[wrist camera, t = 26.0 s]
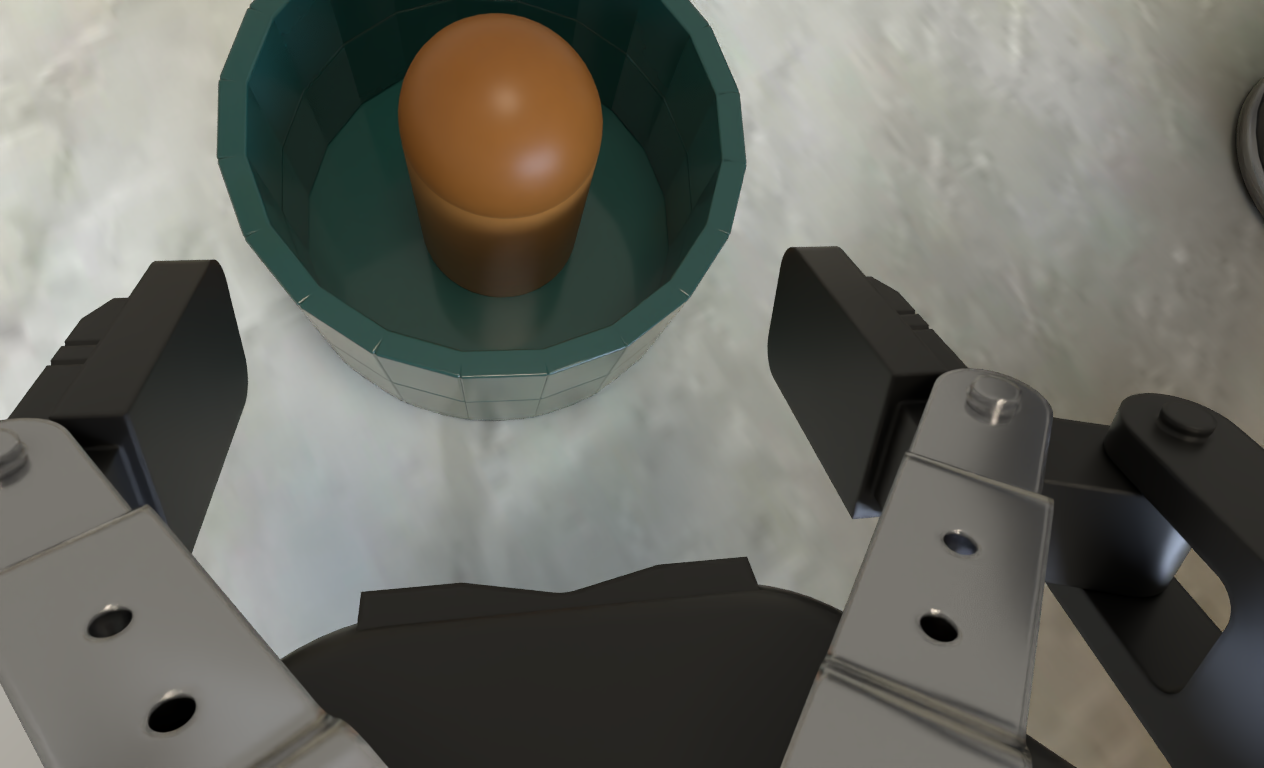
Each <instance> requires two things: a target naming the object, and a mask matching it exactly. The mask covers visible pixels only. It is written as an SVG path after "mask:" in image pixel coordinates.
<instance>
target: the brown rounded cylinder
mask: <svg viewBox="0 0 1264 768" xmlns="http://www.w3.org/2000/svg"><path fill="white" fill-rule="evenodd" d="M398 122H399V132H400V137H401V142H402V147H403V151H404V155H405V160H406V164H407V168H408V172H409V177H410V181H411V185H412V190H413V194H414V198H415V203H416V207H417V211H418V216H419V220H420V224H421V229H422V233H423V237H424V241H425V244H426V247H427V250H428V252H429V254H430V256H431V258H432V259H433V261H434V262H435V264H436V265H437V267H438V268H439V269H440V270H441V271H442V272H443V273H444V274H445V275H446V276H447V277H448V278H449V279H451V280H452V281H453V282H455V283H456V284H458V285H459V286H461V287H463V288H465V289H467V290H469V291H471V292H474V293H477V294H480V295H485V296H490V297H513V296H518V295H523V294H526V293H529V292H532V291H534V290H536V289H538V288H540V287H542V286H543V285H545V284H547V283H548V282H549V281H551V280H552V279H553V278H554V277H555V276H556V275H557V274H558V273H559V272H560V271H561V270H562V268H563V267H564V265H565V264H566V263H567V261H568V259H569V257H570V255H571V253H572V250H573V247H574V244H575V240H576V236H577V233H578V229H579V225H580V222H581V218H582V214H583V210H584V207H585V203H586V199H587V196H588V192H589V188H590V185H591V181H592V177H593V173H594V170H595V166H596V162H597V159H598V155H599V151H600V146H601V140H602V131H603V118H602V108H601V102H600V98H599V94H598V90H597V88H596V85H595V83H594V80H593V78H592V75H591V73H590V72H589V70H588V68H587V66H586V64H585V63H584V61H583V60H582V59H581V57H580V56H579V55H578V53H577V52H576V51H575V50H574V49H573V48H572V47H571V46H570V45H569V44H568V42H567V41H565V40H564V39H563V38H562V37H561V36H559V35H558V34H557V33H555V32H554V31H552V30H551V29H549V28H548V27H546V26H544V25H542V24H540V23H538V22H535V21H533V20H530V19H527V18H525V17H521V16H517V15H511V14H504V13H489V14H480V15H475V16H471V17H467V18H464V19H461V20H458V21H456V22H454V23H452V24H450V25H448V26H446V27H445V28H443V29H442V30H440V31H439V32H438V33H436V34H435V35H434V36H433V37H432V38H431V39H430V40H429V41H427V42H426V43H425V44H424V45H423V47H422V48H421V49H420V50H419V52H418V53H417V54H416V56H415V57H414V59H413V61H412V63H411V64H410V66H409V68H408V70H407V73H406V75H405V77H404V80H403V83H402V88H401V92H400V97H399V105H398Z"/></svg>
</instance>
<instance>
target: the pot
mask: <svg viewBox="0 0 1264 768" xmlns="http://www.w3.org/2000/svg"><path fill="white" fill-rule="evenodd" d="M489 13H504V14H511V15H517V16H521V17H525V18H527V19H530V20H533V21H535V22H538V23H540V24H542V25H544V26H546V27H548V28H549V29H551V30H552V31H554V32H555V33H557V34H558V35H559V36H561V37H562V38H563V39H564V40H565V41H567V42H568V44H569V45H570V46H571V47H572V48H573V49H574V50H575V51H576V52H577V53H578V55H579V56H580V57H581V59H582V60H583V61H584V63H585V64H586V66H587V68H588V70H589V72H590V73H591V75H592V78H593V80H594V83H595V85H596V88H597V90H598V94H599V98H600V102H601V108H602V118H603V131H602V140H601V146H600V151H599V155H598V159H597V162H596V166H595V170H594V173H593V177H592V181H591V185H590V188H589V192H588V196H587V199H586V203H585V207H584V210H583V214H582V218H581V222H580V225H579V229H578V233H577V236H576V240H575V244H574V247H573V250H572V253H571V255H570V257H569V259H568V261H567V263H566V264H565V265H564V267H563V268H562V270H561V271H560V272H559V273H558V274H557V275H556V276H555V277H554V278H553V279H552V280H551V281H549V282H548V283H547V284H545V285H543V286H542V287H540V288H538V289H536V290H534V291H532V292H529V293H526V294H523V295H518V296H513V297H490V296H485V295H480V294H477V293H474V292H471V291H469V290H467V289H465V288H463V287H461V286H459V285H458V284H456V283H455V282H453V281H452V280H451V279H449V278H448V277H447V276H446V275H445V274H444V273H443V272H442V271H441V270H440V269H439V268H438V267H437V265H436V264H435V262H434V261H433V259H432V258H431V256H430V254H429V252H428V250H427V247H426V244H425V241H424V237H423V233H422V229H421V224H420V220H419V216H418V211H417V207H416V203H415V198H414V194H413V190H412V185H411V181H410V177H409V172H408V168H407V164H406V160H405V155H404V151H403V147H402V142H401V137H400V132H399V122H398V105H399V97H400V92H401V88H402V83H403V80H404V77H405V75H406V73H407V70H408V68H409V66H410V64H411V63H412V61H413V59H414V57H415V56H416V54H417V53H418V52H419V50H420V49H421V48H422V47H423V45H424V44H425V43H426V42H427V41H429V40H430V39H431V38H432V37H433V36H434V35H435V34H436V33H438V32H439V31H440V30H442V29H443V28H445V27H446V26H448V25H450V24H452V23H454V22H456V21H458V20H461V19H464V18H467V17H471V16H475V15H480V14H489ZM217 159H218V165H219V168H220V171H221V174H222V177H223V180H224V182H225V185H226V188H227V191H228V194H229V197H230V200H231V203H232V205H233V208H234V211H235V214H236V217H237V220H238V223H239V226H240V228H241V231H242V234H243V236H244V237H245V240H246V242H247V243H248V244H249V246H250V247H251V248H252V249H253V251H254V252H255V253H256V254H257V256H258V257H259V258H260V259H261V261H262V262H263V263H264V264H265V266H266V267H267V268H268V269H269V271H270V272H271V273H272V274H273V276H274V277H275V278H276V279H277V281H278V282H279V283H280V284H281V286H282V287H283V288H284V289H285V291H286V292H287V293H288V294H289V296H290V297H291V298H292V299H293V301H294V302H295V303H296V304H297V305H298V307H299V308H300V309H301V310H302V312H303V313H304V314H305V315H306V316H307V318H308V319H309V320H310V321H311V322H312V324H313V325H314V326H315V327H316V328H317V330H318V331H319V332H320V333H321V334H322V336H323V337H324V338H325V339H326V340H327V342H328V343H329V344H330V345H331V346H332V348H333V349H334V350H335V351H336V352H337V354H338V355H339V356H340V357H341V358H342V360H343V361H344V362H345V363H346V364H347V365H348V366H349V367H350V368H352V369H353V370H355V371H356V372H358V373H359V374H361V375H363V376H364V377H365V378H366V379H367V380H369V381H370V382H372V383H373V384H375V385H376V386H378V387H379V388H381V389H383V390H384V391H386V392H387V393H389V394H391V395H392V396H394V397H397V398H398V399H400V400H401V401H405V402H406V403H408V404H412V405H414V406H416V407H419V408H422V409H426V410H429V411H432V412H435V413H438V414H442V415H446V416H452V417H458V418H463V419H469V420H489V421H501V420H513V419H524V418H529V417H534V416H539V415H543V414H547V413H551V412H554V411H556V410H559V409H562V408H565V407H568V406H570V405H573V404H575V403H577V402H579V401H581V400H583V399H585V398H588V397H591V396H593V395H594V394H597V393H598V392H599V391H600V390H602V389H603V388H604V387H605V386H607V385H608V384H610V383H611V382H613V381H614V380H615V379H617V378H618V377H619V376H620V375H621V374H622V373H623V372H625V371H626V370H627V369H628V368H629V367H631V366H632V365H633V364H634V363H636V362H637V361H638V360H639V359H641V358H642V356H643V355H644V354H645V353H646V352H647V350H648V349H649V348H650V347H651V346H652V344H653V343H654V342H655V341H656V339H657V338H658V337H659V336H660V334H661V333H662V332H663V331H664V329H665V328H666V327H667V326H668V324H669V323H670V322H671V321H672V319H673V318H674V317H675V316H676V314H677V313H678V312H679V311H680V309H681V308H682V307H683V306H684V304H685V303H686V302H687V301H688V299H689V298H690V297H691V295H692V294H693V292H694V291H695V289H696V288H697V286H698V284H699V283H700V281H701V280H702V278H703V277H704V275H705V274H706V272H707V270H708V269H709V267H710V266H711V264H712V263H713V261H714V260H715V258H716V256H717V255H718V253H719V252H720V250H721V249H722V247H723V246H724V244H725V242H726V241H727V239H728V237H729V235H730V233H731V229H732V225H733V220H734V216H735V212H736V208H737V203H738V199H739V195H740V191H741V186H742V182H743V178H744V174H745V170H746V153H745V143H744V133H743V123H742V112H741V102H740V93H739V91H738V88H737V86H736V83H735V81H734V79H733V76H732V74H731V72H730V70H729V67H728V65H727V63H726V60H725V58H724V56H723V53H722V51H721V49H720V46H719V44H718V42H717V40H716V37H715V35H714V33H713V30H712V28H711V26H709V24H708V22H707V21H706V20H705V19H704V17H703V16H702V15H701V14H700V13H699V11H698V10H697V9H696V8H695V7H694V5H693V4H692V3H691V2H690V1H689V0H254V1H253V2H252V3H251V4H250V8H248V9H247V11H246V14H245V16H244V18H243V21H242V23H241V26H240V28H239V31H238V33H237V36H236V38H235V41H234V43H233V45H232V48H231V50H230V53H229V55H228V58H227V60H226V63H225V65H224V68H223V70H222V72H221V75H220V80H219V82H218V121H217Z"/></svg>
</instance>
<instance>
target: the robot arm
mask: <svg viewBox="0 0 1264 768" xmlns="http://www.w3.org/2000/svg"><path fill="white" fill-rule="evenodd" d="M1236 144H1237V155H1238V161H1239V166H1240V170H1241V173H1242V176H1243V179H1244V182H1245V185H1246V187H1247V189H1248V192H1249V194H1250V196H1251V198H1252V200H1253V201H1254V203H1255V205H1256V207H1257V208H1258V210H1259V211H1260V213H1261V214H1262V216H1263V217H1264V77H1263V78H1262V79H1261V80H1260V81H1259V82H1258V83H1257V84H1256V85H1255V86H1254V87H1253V89H1252V90H1251V91H1250V93H1249V94H1248V96H1247V98H1246V99H1245V101H1244V104H1243V106H1242V108H1241V112H1240V115H1239V119H1238V125H1237V135H1236ZM768 361H769V366H770V370H771V373H772V376H773V378H774V380H775V381H776V383H777V385H778V387H779V389H780V390H781V392H782V394H783V396H784V398H785V399H786V401H787V403H788V405H789V406H790V408H791V410H792V412H793V414H794V415H795V417H796V419H797V421H798V423H799V424H800V426H801V428H802V430H803V432H804V433H805V435H806V437H807V439H808V440H809V442H810V444H811V446H812V448H813V449H814V451H815V453H816V455H817V457H818V458H819V460H820V462H821V464H822V465H823V467H824V469H825V471H826V473H827V474H828V476H829V478H830V480H831V482H832V483H833V485H834V487H835V489H836V491H837V492H838V494H839V496H840V498H841V499H842V501H843V503H844V505H845V507H846V508H847V510H848V512H849V514H850V516H851V517H852V519H858V518H870V517H880V518H879V521H878V523H877V526H876V529H875V531H874V534H873V536H872V539H871V542H870V544H869V547H868V549H867V552H866V554H865V557H864V560H863V562H862V565H861V567H860V570H859V573H858V575H857V578H856V580H855V583H854V585H853V588H852V591H851V593H850V596H849V598H848V601H847V603H846V606H845V609H844V611H843V612H842V611H840V610H838V609H836V608H834V607H833V606H831V605H828V604H826V603H823V602H821V601H819V600H816V599H814V598H812V597H809V596H805V595H802V594H799V593H796V592H793V591H789V590H785V589H780V588H775V587H771V586H764V585H758V584H757V581H756V579H755V576H754V574H753V571H752V568H751V566H750V563H749V561H748V558H747V557H738V558H727V559H716V560H705V561H694V562H683V563H672V564H661V565H656V566H653V567H649V568H646V569H643V570H640V571H636V572H633V573H630V574H627V575H624V576H620V577H617V578H614V579H611V580H608V581H604V582H601V583H598V584H595V585H591V586H588V587H585V588H582V589H579V590H575V591H571V592H565V593H553V592H543V591H534V590H525V589H515V588H506V587H497V586H488V585H478V584H469V583H454V584H443V585H432V586H421V587H410V588H399V589H388V590H377V591H366V592H361V598H360V607H359V615H358V623H357V624H354V625H351V626H348V627H344V628H341V629H339V630H337V631H334V632H332V633H329V634H327V635H324V636H322V637H320V638H318V639H316V640H314V641H312V642H310V643H308V644H306V645H304V646H302V647H300V648H298V649H296V650H295V651H293V652H291V653H290V654H288V655H287V656H285V657H284V658H282V659H279V657H278V656H277V655H276V654H275V653H274V652H273V650H272V649H271V648H270V647H269V646H268V644H267V643H266V642H265V641H264V640H263V638H262V637H261V636H260V635H259V634H258V633H257V631H256V630H255V629H254V628H253V627H252V625H251V624H250V623H249V622H248V621H247V619H246V618H245V617H244V616H243V615H242V614H241V612H240V611H239V610H238V609H237V608H236V606H235V605H234V604H233V603H232V602H231V600H230V599H229V598H228V597H227V596H226V594H225V593H224V592H223V591H222V590H221V589H220V587H219V586H218V585H217V584H216V583H215V581H214V580H213V579H212V578H211V577H210V575H209V574H208V573H207V572H206V571H205V570H204V568H203V567H202V566H201V565H200V564H199V562H198V561H197V560H196V559H195V558H194V556H193V555H192V551H193V548H194V545H195V543H196V540H197V537H198V534H199V531H200V529H201V526H202V523H203V520H204V517H205V515H206V512H207V509H208V506H209V503H210V501H211V498H212V495H213V492H214V489H215V487H216V484H217V481H218V478H219V475H220V473H221V470H222V467H223V464H224V461H225V459H226V456H227V453H228V450H229V447H230V445H231V442H232V439H233V436H234V433H235V430H236V428H237V425H238V422H239V419H240V416H241V414H242V411H243V408H244V405H245V402H246V398H247V390H248V374H247V365H246V359H245V354H244V350H243V346H242V342H241V338H240V334H239V330H238V326H237V322H236V318H235V314H234V310H233V306H232V302H231V298H230V294H229V289H228V285H227V281H226V278H225V274H224V272H223V269H222V267H221V265H220V264H219V262H218V261H216V260H178V261H154V262H153V263H152V264H151V265H150V266H149V268H148V269H147V271H146V272H145V274H144V275H143V277H142V278H141V280H140V281H139V283H138V284H137V286H136V287H135V289H134V290H133V292H132V293H131V295H130V296H129V298H113V299H112V300H110V301H109V302H107V303H105V304H104V305H102V306H101V307H99V308H98V309H96V310H94V311H93V312H91V313H90V314H88V315H87V316H85V317H83V318H82V319H81V320H80V321H79V323H78V324H77V326H76V327H75V328H74V330H73V331H72V332H71V334H70V335H69V336H68V338H67V339H66V340H65V346H61V347H60V349H59V350H58V351H57V353H56V354H55V355H54V357H53V358H52V359H51V365H49V366H46V368H45V369H44V370H43V372H42V373H41V374H40V376H39V377H38V378H37V380H36V381H35V382H34V384H33V385H32V387H31V388H30V389H29V391H28V392H27V393H26V395H25V396H24V397H23V399H22V400H21V401H20V403H19V404H18V405H17V407H16V408H15V410H14V411H13V412H12V414H11V415H10V416H9V418H8V419H7V420H0V683H1V685H2V687H3V689H4V691H5V693H6V695H7V697H8V699H9V701H10V703H11V705H12V707H13V708H14V710H15V712H16V714H17V716H18V718H19V720H20V722H21V723H22V726H23V728H24V730H25V732H26V733H27V735H28V737H29V739H30V741H31V743H32V745H33V747H34V749H35V750H36V752H37V754H38V756H39V758H40V760H41V762H42V764H43V766H44V768H1076V767H1075V766H1073V765H1072V764H1070V763H1069V762H1067V761H1066V760H1064V759H1063V758H1061V757H1060V756H1058V755H1057V754H1055V753H1054V752H1053V751H1051V750H1050V749H1048V748H1047V747H1045V746H1044V745H1042V744H1041V743H1039V742H1038V741H1036V740H1035V739H1033V738H1032V737H1030V736H1029V735H1027V734H1026V727H1027V719H1028V711H1029V703H1030V695H1031V687H1032V679H1033V671H1034V663H1035V655H1036V647H1037V639H1038V631H1039V623H1040V615H1041V607H1042V599H1043V591H1044V583H1045V582H1046V584H1047V585H1048V587H1049V589H1050V590H1051V592H1052V593H1053V595H1054V596H1055V598H1056V599H1057V600H1058V602H1059V603H1060V605H1061V606H1062V608H1063V609H1064V611H1065V612H1066V614H1067V615H1068V617H1069V618H1070V619H1071V621H1072V622H1073V624H1074V625H1075V627H1076V628H1077V630H1078V631H1079V633H1080V634H1081V635H1082V637H1083V638H1084V640H1085V641H1086V643H1087V644H1088V646H1089V647H1090V649H1091V650H1092V652H1093V653H1094V654H1095V656H1096V657H1097V659H1098V660H1099V662H1100V663H1101V665H1102V666H1103V668H1104V669H1105V670H1106V672H1107V673H1108V675H1109V676H1110V678H1111V679H1112V681H1113V682H1114V684H1115V685H1116V687H1117V688H1118V689H1119V691H1120V692H1121V694H1122V695H1123V697H1124V698H1125V700H1126V701H1127V703H1128V704H1129V705H1130V707H1131V708H1132V710H1133V711H1134V713H1135V714H1136V716H1137V717H1138V719H1139V720H1140V722H1141V723H1142V724H1143V726H1144V727H1145V729H1146V730H1147V732H1148V733H1149V735H1150V736H1151V738H1152V739H1153V740H1154V742H1155V743H1156V745H1157V746H1158V748H1159V749H1160V751H1161V752H1162V754H1163V755H1164V757H1165V758H1166V759H1167V761H1168V762H1169V764H1170V765H1171V767H1172V768H1264V449H1263V448H1262V447H1261V446H1260V445H1258V444H1257V443H1256V442H1255V441H1254V440H1253V439H1251V438H1250V437H1249V436H1248V435H1247V434H1246V433H1244V432H1243V431H1242V430H1241V429H1240V428H1238V427H1237V426H1236V425H1235V424H1234V423H1232V422H1231V421H1230V420H1228V419H1227V418H1225V417H1224V416H1222V415H1220V414H1219V413H1217V412H1215V411H1213V410H1211V409H1209V408H1207V407H1205V406H1202V405H1200V404H1198V403H1195V402H1192V401H1189V400H1186V399H1182V398H1179V397H1175V396H1170V395H1164V394H1156V393H1144V394H1136V395H1132V396H1130V397H1127V398H1126V399H1125V400H1123V401H1122V403H1121V405H1120V407H1119V409H1118V411H1117V413H1116V415H1115V417H1114V419H1113V421H1112V423H1111V426H1108V425H1101V424H1094V423H1087V422H1080V421H1073V420H1066V419H1059V418H1054V417H1053V411H1052V408H1051V406H1050V404H1049V403H1048V401H1047V400H1046V399H1045V398H1044V397H1043V396H1042V395H1041V394H1040V393H1039V392H1038V391H1036V390H1035V389H1033V388H1032V387H1030V386H1029V385H1027V384H1025V383H1023V382H1022V381H1020V380H1017V379H1015V378H1013V377H1010V376H1007V375H1004V374H1001V373H998V372H994V371H989V370H983V369H972V368H967V366H966V365H965V364H964V363H963V362H962V361H961V360H960V359H959V358H958V357H957V356H956V354H955V353H954V352H953V351H952V350H951V349H950V348H949V347H948V346H947V345H946V344H945V342H944V341H943V340H942V339H941V338H940V337H939V336H938V335H937V334H936V333H935V332H934V330H933V329H929V325H928V324H927V323H926V322H925V321H924V320H923V318H922V317H921V316H920V315H919V314H915V310H914V309H913V308H912V307H911V305H910V304H909V303H908V302H907V301H906V300H905V299H904V298H903V297H902V296H901V295H900V293H899V292H897V291H895V290H894V289H892V288H890V287H888V286H887V285H885V284H883V283H881V282H880V281H878V280H876V279H874V278H873V277H866V276H865V275H864V274H863V273H862V272H861V271H860V269H859V268H858V267H857V266H856V265H855V264H854V263H853V261H852V260H851V259H850V258H849V257H848V256H847V255H846V254H845V252H844V251H843V250H842V249H841V248H840V247H838V246H825V247H790V248H788V249H787V250H786V252H785V254H784V256H783V259H782V262H781V267H780V273H779V278H778V284H777V290H776V296H775V301H774V307H773V313H772V318H771V324H770V330H769V336H768ZM1191 548H1192V549H1193V550H1194V551H1195V552H1196V553H1197V554H1198V555H1199V556H1200V557H1201V558H1202V559H1203V561H1204V562H1205V563H1206V564H1207V565H1208V566H1209V567H1210V568H1211V569H1212V570H1213V571H1214V573H1215V574H1216V575H1217V576H1218V577H1219V578H1220V580H1221V581H1222V582H1223V584H1224V586H1225V588H1226V590H1227V592H1228V595H1229V599H1230V604H1231V615H1230V620H1229V623H1228V625H1227V627H1226V628H1225V630H1224V631H1223V633H1222V632H1221V631H1220V629H1219V628H1218V627H1217V626H1216V625H1215V624H1214V623H1213V621H1212V620H1211V619H1210V618H1209V617H1208V616H1207V614H1206V613H1205V612H1204V611H1203V610H1202V609H1201V607H1200V606H1199V605H1198V604H1197V603H1196V602H1195V600H1194V599H1193V598H1192V597H1191V596H1190V595H1189V593H1188V592H1187V591H1186V590H1185V589H1184V588H1183V586H1182V585H1181V584H1180V583H1179V582H1178V581H1177V579H1176V578H1175V577H1174V575H1175V574H1176V572H1177V570H1178V569H1179V567H1180V566H1181V564H1182V562H1183V561H1184V559H1185V557H1186V556H1187V554H1188V553H1189V551H1190V549H1191Z"/></svg>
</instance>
